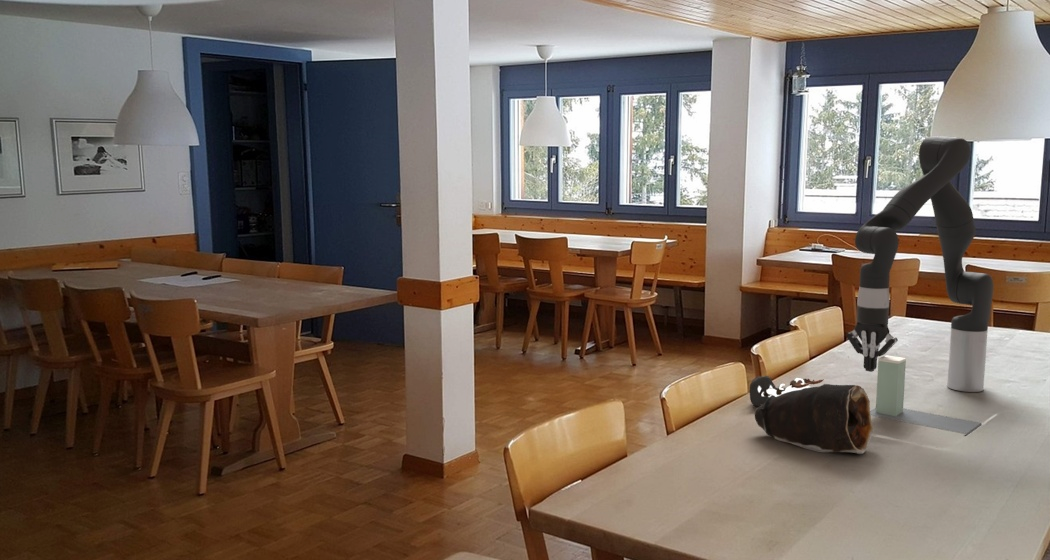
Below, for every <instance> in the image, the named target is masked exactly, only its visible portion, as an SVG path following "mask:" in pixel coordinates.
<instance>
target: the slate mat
mask: <svg viewBox="0 0 1050 560" xmlns="http://www.w3.org/2000/svg"><path fill="white" fill-rule="evenodd" d="M870 415H871V417H878V418H882V419H888V420H892V421H897V422H903V423H908V424H912V425H918V426H924V427H928V428H933V429H938V430H943V431H948V432H949V431H950V432H955V433H959V434H964V435H963V437H967V436H969V435H970V434H972V433H973V432H974V431H975V430H977V429H978V428H980V427H981V426H982V424H983V423H982V422H980V421H974V420H969V419H962V418H957V417H954V416H953V417H952V416H947V415H941V414H936V413H931V412H925V411H920V410H913V409H911V408H910V409H907V408H904V407H903V412H902V413H900V414H898V415H897V416H893V415H887V414H882V413H877V412H876V407H875V408H873V409H870Z"/></svg>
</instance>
